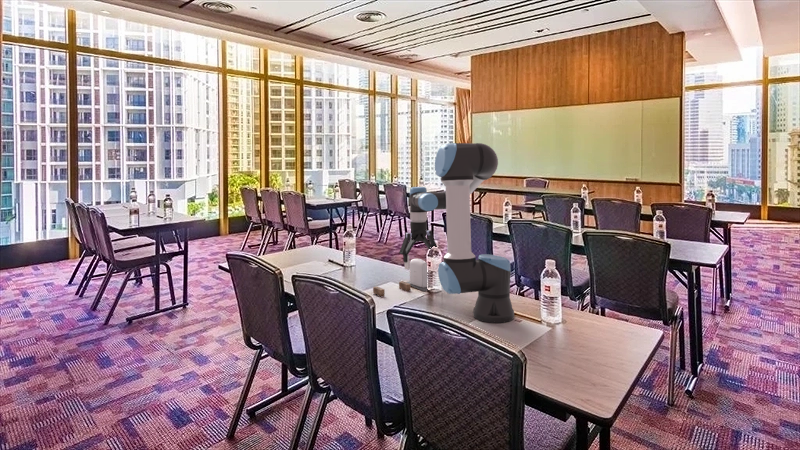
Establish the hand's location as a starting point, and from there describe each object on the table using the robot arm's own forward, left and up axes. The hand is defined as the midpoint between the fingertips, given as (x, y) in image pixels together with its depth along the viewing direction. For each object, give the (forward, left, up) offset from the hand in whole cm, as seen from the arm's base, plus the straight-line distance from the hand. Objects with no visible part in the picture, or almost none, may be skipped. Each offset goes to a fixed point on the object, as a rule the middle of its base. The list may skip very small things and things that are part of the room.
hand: (419, 267), depth 228 cm
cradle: (0, +15, -9) cm, 17 cm away
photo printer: (0, 0, -9) cm, 9 cm away
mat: (0, 0, -9) cm, 9 cm away
